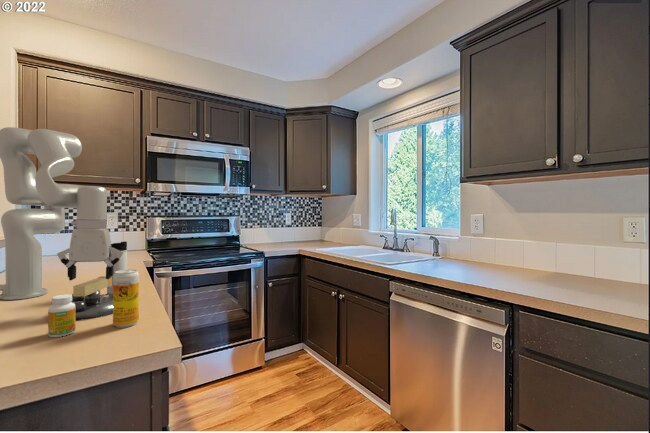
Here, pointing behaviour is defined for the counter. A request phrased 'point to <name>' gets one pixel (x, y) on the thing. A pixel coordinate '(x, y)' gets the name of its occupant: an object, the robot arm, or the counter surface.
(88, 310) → the base
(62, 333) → the supplement bottle
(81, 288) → the orange-tipped wooden plank
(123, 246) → the travel mug
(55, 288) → the counter surface
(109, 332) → the counter surface
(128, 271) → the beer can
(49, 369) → the counter surface
